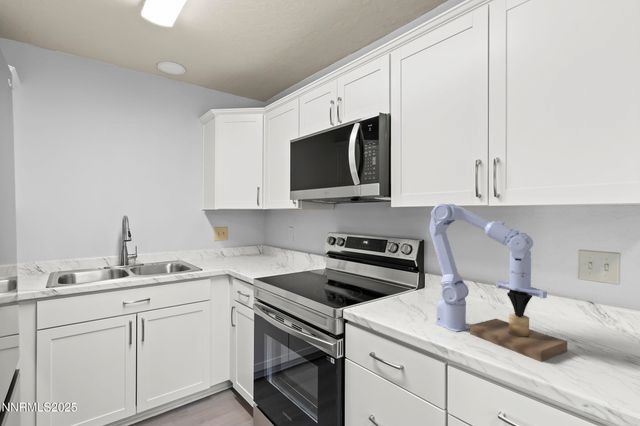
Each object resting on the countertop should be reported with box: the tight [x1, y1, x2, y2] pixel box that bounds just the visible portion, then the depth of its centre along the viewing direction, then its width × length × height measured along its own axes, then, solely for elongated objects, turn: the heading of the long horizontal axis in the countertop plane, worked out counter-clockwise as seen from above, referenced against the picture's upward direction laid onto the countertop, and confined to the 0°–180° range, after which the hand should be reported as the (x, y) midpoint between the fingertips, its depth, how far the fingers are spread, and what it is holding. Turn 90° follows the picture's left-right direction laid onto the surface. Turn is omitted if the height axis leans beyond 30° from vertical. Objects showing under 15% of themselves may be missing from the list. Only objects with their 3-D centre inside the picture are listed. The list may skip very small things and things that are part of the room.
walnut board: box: [469, 318, 568, 362], centre depth 101 cm, size 22×14×3 cm, turn 28°
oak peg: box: [508, 313, 530, 337], centre depth 100 cm, size 6×6×8 cm
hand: (519, 315), depth 100 cm, fingers closed
